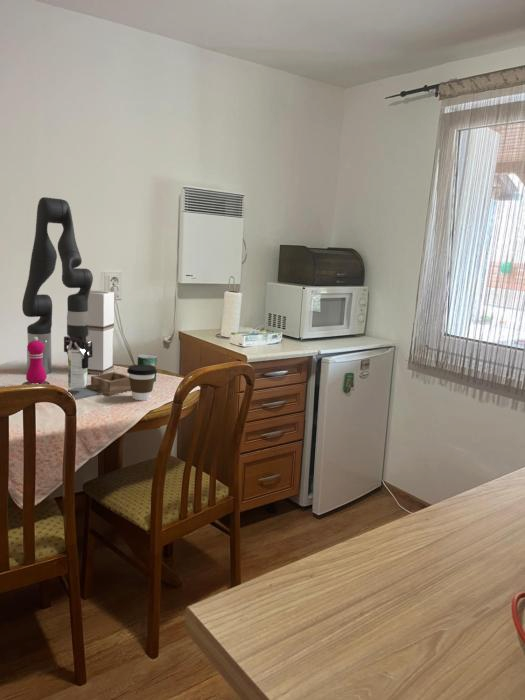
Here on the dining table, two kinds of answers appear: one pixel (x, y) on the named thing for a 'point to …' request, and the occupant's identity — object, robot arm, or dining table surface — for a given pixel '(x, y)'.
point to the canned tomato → (148, 360)
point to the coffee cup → (141, 381)
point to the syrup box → (76, 370)
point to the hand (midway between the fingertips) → (78, 366)
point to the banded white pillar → (101, 331)
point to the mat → (82, 393)
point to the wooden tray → (110, 383)
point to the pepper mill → (36, 362)
